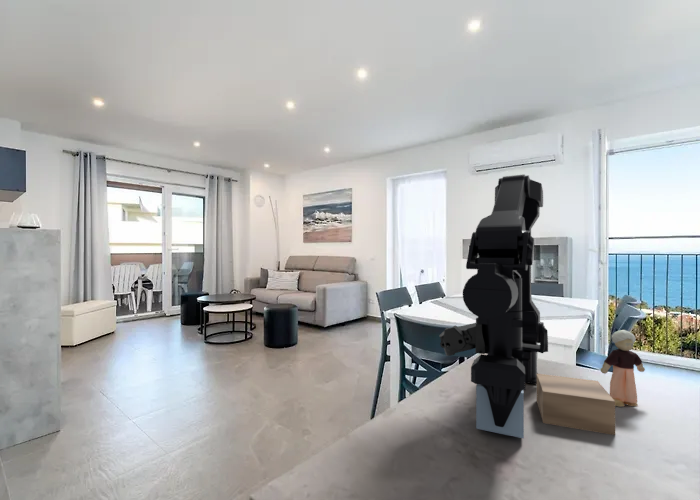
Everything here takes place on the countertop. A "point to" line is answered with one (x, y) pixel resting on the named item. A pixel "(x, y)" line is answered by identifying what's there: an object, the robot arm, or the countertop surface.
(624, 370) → the grandmother figurine
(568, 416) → the tan flat block
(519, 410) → the slate-blue cube
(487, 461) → the countertop surface
